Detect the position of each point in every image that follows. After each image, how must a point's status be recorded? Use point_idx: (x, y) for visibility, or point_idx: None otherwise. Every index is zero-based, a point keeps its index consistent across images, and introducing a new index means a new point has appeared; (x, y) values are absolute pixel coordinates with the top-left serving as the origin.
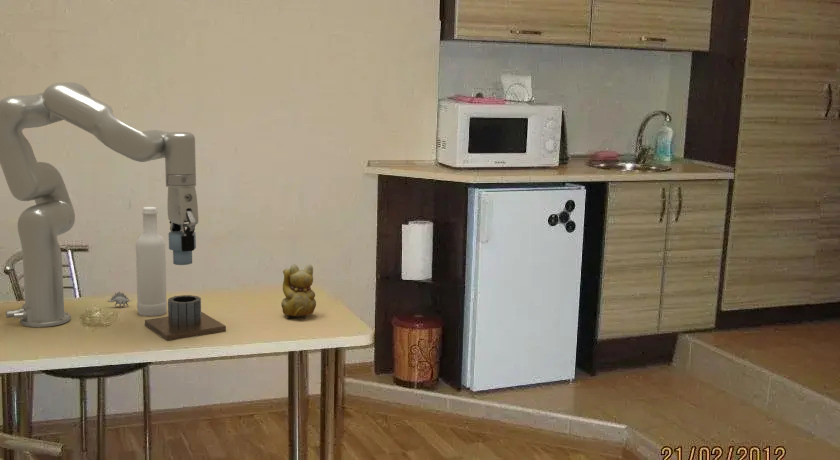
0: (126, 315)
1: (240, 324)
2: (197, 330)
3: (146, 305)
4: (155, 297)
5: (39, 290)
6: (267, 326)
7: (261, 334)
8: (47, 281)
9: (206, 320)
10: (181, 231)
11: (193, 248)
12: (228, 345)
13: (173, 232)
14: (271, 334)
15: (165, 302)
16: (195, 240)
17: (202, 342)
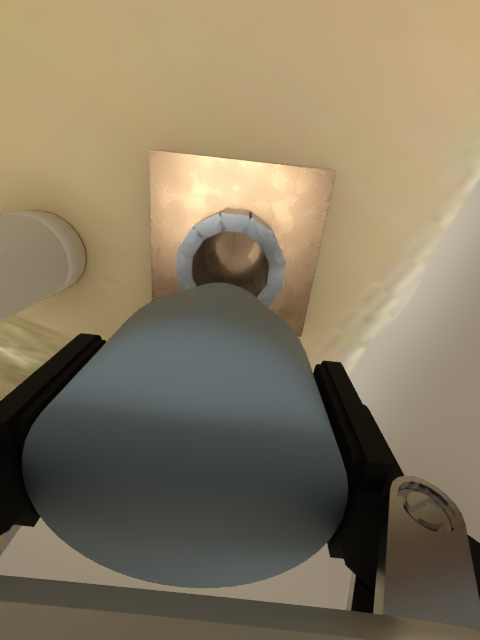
0: (51, 312)
1: (299, 83)
2: (316, 261)
3: (63, 287)
4: (55, 271)
5: (20, 526)
6: (383, 3)
7: (435, 88)
8: (5, 537)
9: (248, 190)
10: (80, 468)
11: (340, 372)
12: (435, 234)
13: (109, 540)
14: (463, 55)
15: (50, 227)
16: (282, 348)
17: (365, 274)
